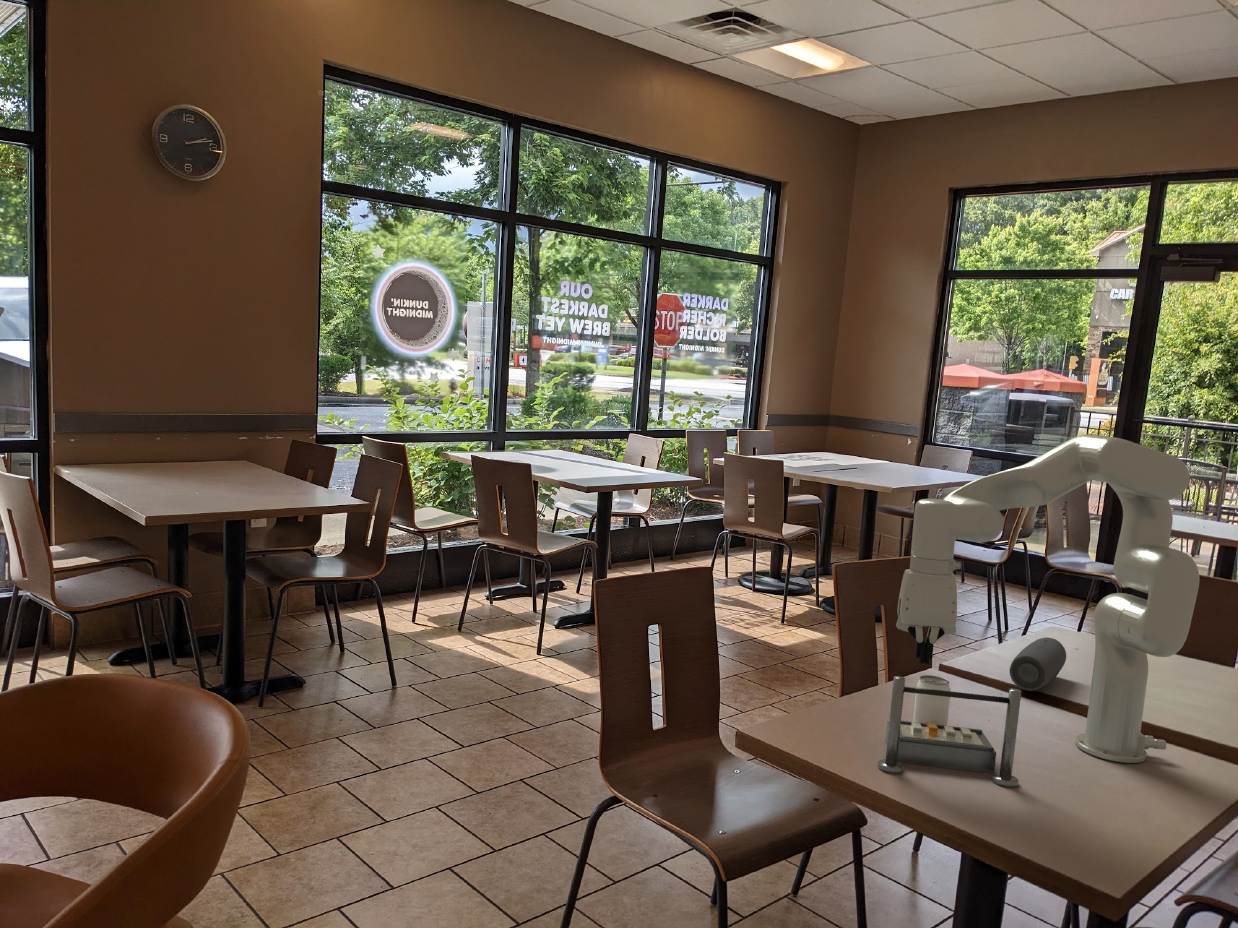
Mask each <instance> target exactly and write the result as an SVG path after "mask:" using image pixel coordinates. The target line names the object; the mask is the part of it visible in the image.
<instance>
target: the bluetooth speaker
mask: <svg viewBox="0 0 1238 928" xmlns="http://www.w3.org/2000/svg"><path fill="white" fill-rule="evenodd" d="M1066 660H1067V651H1066V649H1065V646H1064V645H1063V644H1062V643H1061V642H1060V641H1059V640H1057V639H1056V638H1053V637H1041V638H1038V639H1036V640H1034V641H1033V642H1031V643H1030V644H1027V645H1026V646H1025V647H1024V648H1023V649H1022V650H1021V651H1020V652H1019V653H1018V654H1017V655H1016V656H1015V657H1014V658H1013V660H1012V661H1011V663H1010V667H1009V676H1010V679H1011V681H1012V682H1013V684H1014V685H1016V686H1017V687H1018V688H1019V689H1022V690H1025V691H1029V692H1035V691H1039V690H1041V689H1042V688H1044V687H1045V686H1046V685H1048V684H1049V683H1051V682H1052V681H1053V680H1055V678H1056V677H1057V676H1058V675H1059V674H1060V672H1061V671H1062V669H1063V667H1064V666H1065V663H1066ZM1040 688H1041V689H1040ZM1038 689H1039V690H1038Z"/></svg>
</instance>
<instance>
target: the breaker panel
mask: <svg viewBox="0 0 1238 928" xmlns="http://www.w3.org/2000/svg"><path fill="white" fill-rule="evenodd" d="M885 729H886V731H885V740H884V741H886V742H885V744H886V746H887V740H888V730H889V721H886V728H885ZM996 758H997V751H996V750H995V748H994V747H993V745H992V743H990V741H989V739H988V738H987V736H986V735H985V733H984V732H983V730H982V729H979V728H969V727H963V726H962V727H961V726H951V725H947V726H944V725H936V724H935V723H930V722H926V723H918V722H913V721H907V720H901V726H900V736H899V746H898V755H897V762H899V763H900V762H902V763H903V764H910V765H920V766H927V767H935V768H942V767H943V769H952V770H959V771H970V772H976V773H978V772H979V773H987V774H994V773H995V768H996V767H995V766H996ZM902 763H901V764H902Z"/></svg>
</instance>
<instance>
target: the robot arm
mask: <svg viewBox="0 0 1238 928" xmlns="http://www.w3.org/2000/svg"><path fill="white" fill-rule="evenodd" d="M1091 481H1095V482H1101V483H1106V484H1108V485H1109V486H1110V487H1111V488H1112V490H1113V492H1115V493H1116V495H1117V497H1118V499H1119V501H1120V503H1121V506H1122V523H1121V527H1120V528H1121V529H1120V532H1119V533H1120V534H1119V537H1118V542H1117V546H1116V547H1117V548H1116V552H1115V556H1114V560H1113V569H1112V570H1113V575H1114V577H1115V579H1116V580H1117V581H1118V582H1119V583H1120V584H1122V585H1124V586H1126V587H1129V588H1131V589H1133V590H1135V591H1138V592H1142V593H1145V594H1148V595H1147V599H1145V598H1142V597H1139V596H1135V595H1134V594H1128V593H1123V592H1116V593H1110V594H1108V595H1106V596H1104V597H1103V598H1102V599H1100V600H1099V602H1098V603H1097V605H1096V607H1095V610H1094V613H1093V614H1094V615H1093V627H1094V636H1095V637H1094V639H1095V640H1094V641H1095V648H1094V649H1095V650H1094V661H1093V668H1092V676H1091V677H1092V678H1091V685H1090V693H1089V701H1088V709H1087V717H1086V726H1085V727H1086V728H1085V732H1084V733H1081V734H1078V735H1077V736H1076V737H1075V745H1076V746H1077V747H1078V748H1079V749H1080V750H1081V751H1083V752H1084V753H1087V754H1089V755H1092V756H1094V757H1097V758H1100V759H1104V760H1107V761H1110V762H1111V761H1112V762H1117V763H1126V764H1138V763H1142V762H1144V761H1146V760H1147V756H1148V753H1147V751H1146V750H1149V749H1154V750H1160V751H1161V750H1162V751H1165V750H1167V749H1166V748H1167V742H1166V740H1165V739H1157V738H1154V736H1153V735H1144V734H1143V733H1142V732H1141V730H1142V724H1143V723H1142V722H1143V716H1144V715H1143V714H1144V707H1145V701H1146V699H1145V698H1146V693H1147V683H1148V677H1149V659H1148V655H1150V656H1154V657H1158V658H1169V657H1172V656H1174V655H1175V654H1177V653H1178V652H1180V650H1181V649H1182V648H1183V646H1184V645H1185V642H1186V641H1187V638H1188V635H1189V632H1190V628H1191V624H1192V623H1191V622H1192V620H1193V619H1192V618H1193V616H1194V610H1195V605H1196V601H1197V597H1198V592H1199V589H1200V588H1199V587H1200V572H1199V568H1198V565H1197V563H1196V561H1195V560H1194V559H1193V558H1192V556H1190V555H1189V554H1188V553H1186V552H1184V551H1181V550H1179V549H1176V548H1171V547H1170V541H1171V535H1172V529H1173V520H1174V519H1173V510H1172V507H1171V503H1170V500H1174V499H1176V498H1178V497H1180V496H1181V495H1183V494H1184V492H1185V491H1186V490H1187V488H1188V486H1189V483H1190V472H1189V468H1188V466H1187V465H1186V464H1185V462H1184V461H1183V460H1182V459H1180V458H1179V457H1177V456H1175V455H1173V454H1169V453H1166V452H1164V451H1160V450H1158V449H1157V450H1156V449H1153V448H1151V447H1148V446H1144V445H1142V444H1139V443H1136V442H1134V441H1131V440H1127V439H1124V438H1119V437H1114V436H1106V435H1098V434H1086V433H1085V434H1080V435H1076V436H1074V437H1072V438H1070V439H1068V440H1067V441H1065V442H1063V443H1060V444H1059V445H1057V446H1054V447H1053V448H1051V449H1050V450H1048V451H1047V452H1044V453H1043V454H1041V455H1039V456H1038V457H1035V458H1034V459H1032V460H1030V461H1028V462H1026V463H1024V464H1022V465H1019V466H1016V467H1012V468H1008V469H1004V470H1002V471H999V472H996V473H993V474H989V475H986V476H983V477H980V478H978V479H975V480H973V481H970V482H969V483H966V484H965V485H963V486H961V487H959V488H957V489H955V490H954V491H952V492H949V494H947V495H946V496H944V497H943V499H941V498H940V499H939V498H922V499H919V500H917V502H916V503H915V506H914V513H913V523H912V524H913V527H912V537H911V538H912V539H911V548H910V550H911V551H910V559H909V560H910V561H909V562H910V563H909V569H905V570H904V573H903V574H902V575H903V576H902V580H901V586H900V590H899V594H898V595H899V596H898V601H897V602H898V603H897V613H896V614H897V617H898V618H897V621H896V624H895V627H896V628H897V630H900V631H903V632H907V633H909V634H910V635H911V636H912V637H913V638H914V640H915V644H914V645H915V646H914V658H915V659H917V661H918V663H919V664H921V665H923V664H925V665H929V664H930V660H932V659H933V658H934V657H933V655H934V644H936V642H937V641H938V640H939V639H941V638H942V637H943V636H947V635H954V634H956V632H957V629H956V623H957V617H958V589H957V578H956V575H955V574H954V571H955V570H960V569H961V568H962V561H957V560H955V558H954V554H955V543H956V540H960V541H961V540H962V541H966V542H974V543H989V542H990V541H993V540H994V539H997V537H999V536H1000V534H1002V532H1003V530H1004V524H1005V520H1004V516H1003V514H1002V513H1001V511H1005V510H1008V509H1016V508H1017V509H1018V508H1019V509H1020V508H1022V509H1023V508H1035V507H1041V506H1045V505H1048V504H1051V503H1052V502H1054V501H1056V500H1057V499H1060V498H1061V497H1063V496H1064V495H1066V494H1068V493H1069V492H1072V491H1074V490H1075V489H1078V488H1079V487H1081V486H1083V485H1085V484H1086V483H1088V482H1091ZM923 628H928V630H927V635H926V637H925V638H924V635H923V634H924V633H923Z"/></svg>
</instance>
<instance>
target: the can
mask: <svg viewBox="0 0 1238 928" xmlns="http://www.w3.org/2000/svg"><path fill="white" fill-rule="evenodd" d="M915 688H923V689H933V690H942V691H951V687H950V681H949V680H948V679H947V678H944V677H941V676H938V675H937V676H936V675H931V674H930V675H928V674H926V675H920V677H919V680H918V682H917V683H916V687H915ZM951 692H952V691H951ZM950 701H951V697H944V696H935V695H926V694H917V693H915V698H914V706H913V717H912V722H918V723H926V722H930V723H935V724H936V725H944V726H948V722H949V713H950V712H949V710H950V703H951V702H950Z"/></svg>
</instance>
